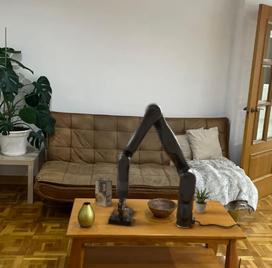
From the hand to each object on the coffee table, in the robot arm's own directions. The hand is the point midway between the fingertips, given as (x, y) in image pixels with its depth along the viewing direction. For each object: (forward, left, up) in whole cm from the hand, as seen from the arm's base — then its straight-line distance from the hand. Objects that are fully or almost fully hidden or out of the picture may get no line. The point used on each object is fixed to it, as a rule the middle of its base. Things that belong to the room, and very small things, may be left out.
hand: (121, 215), depth 209 cm
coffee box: (+16, -24, -4) cm, 29 cm away
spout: (0, 0, -1) cm, 1 cm away
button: (+1, -13, 0) cm, 13 cm away
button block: (+1, -13, -4) cm, 14 cm away
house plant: (-47, -26, -4) cm, 54 cm away
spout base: (0, 0, -4) cm, 4 cm away
